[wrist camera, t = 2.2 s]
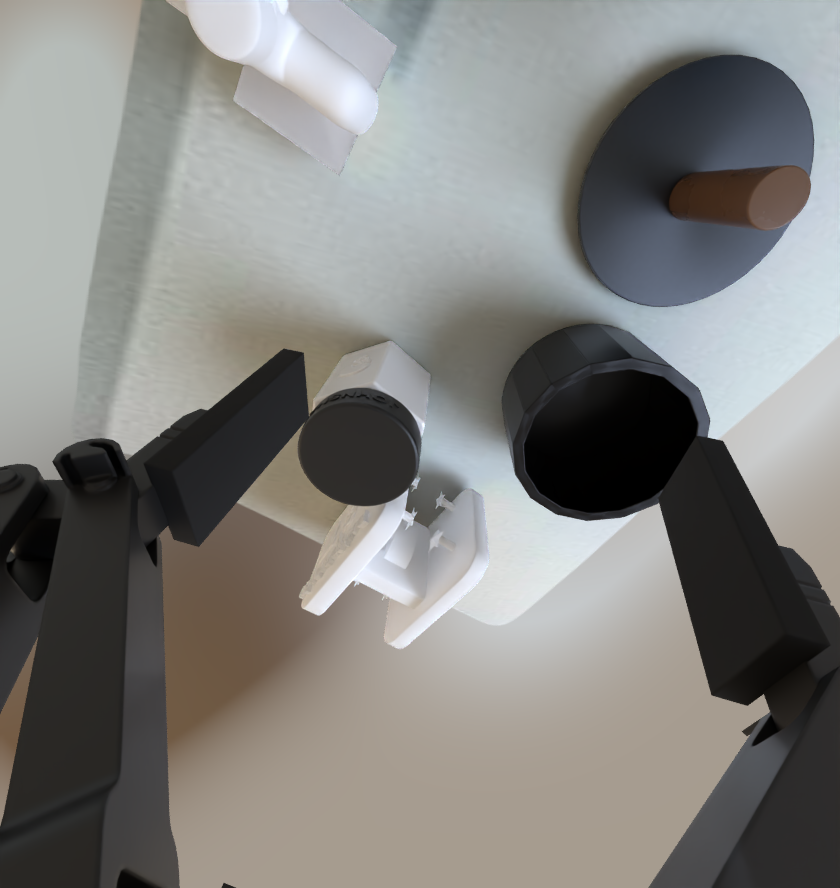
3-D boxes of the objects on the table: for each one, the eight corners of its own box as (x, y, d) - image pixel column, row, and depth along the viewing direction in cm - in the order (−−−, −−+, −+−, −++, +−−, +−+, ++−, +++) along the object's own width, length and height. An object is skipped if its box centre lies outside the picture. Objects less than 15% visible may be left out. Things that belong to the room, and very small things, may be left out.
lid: (631, 32, 26) (724, -51, 17) (853, 92, 26) (1053, 43, 18) (545, 279, 33) (579, 311, 24) (721, 321, 34) (816, 367, 25)
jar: (416, 329, 36) (400, 385, 25) (444, 413, 39) (440, 492, 29) (319, 359, 37) (268, 422, 27) (354, 437, 41) (322, 519, 31)
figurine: (365, 187, 31) (301, 184, 18) (241, 99, 29) (67, 24, 16) (418, 75, 27) (388, -29, 14) (283, -34, 25) (105, -269, 12)
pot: (531, 307, 34) (552, 338, 27) (687, 344, 35) (750, 384, 27) (484, 445, 41) (491, 500, 34) (616, 474, 41) (651, 534, 34)
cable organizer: (403, 568, 50) (391, 663, 40) (323, 526, 47) (289, 615, 37) (484, 485, 43) (493, 573, 33) (396, 430, 41) (378, 508, 31)
